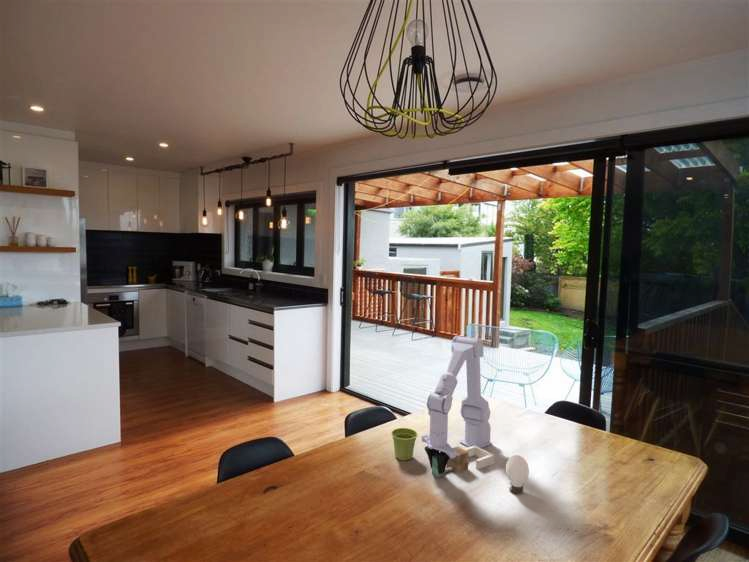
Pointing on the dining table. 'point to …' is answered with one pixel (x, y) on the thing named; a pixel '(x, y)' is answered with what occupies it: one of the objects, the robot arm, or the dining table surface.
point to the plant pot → (404, 442)
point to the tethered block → (452, 463)
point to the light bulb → (517, 473)
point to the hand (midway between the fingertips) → (437, 470)
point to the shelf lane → (480, 456)
